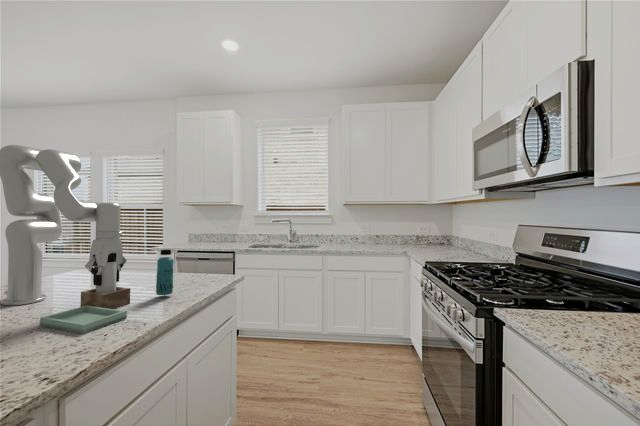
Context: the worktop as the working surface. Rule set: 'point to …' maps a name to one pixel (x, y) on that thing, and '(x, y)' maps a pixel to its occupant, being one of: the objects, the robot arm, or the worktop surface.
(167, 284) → the beverage bottle
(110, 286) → the travel mug
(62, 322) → the tray
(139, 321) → the worktop surface
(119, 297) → the box
